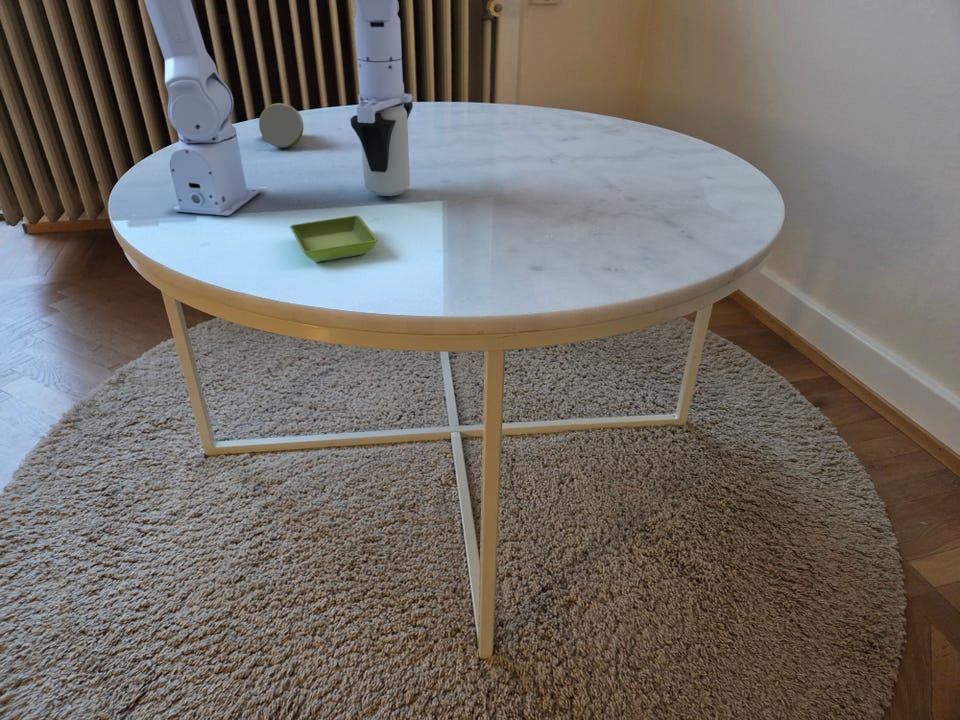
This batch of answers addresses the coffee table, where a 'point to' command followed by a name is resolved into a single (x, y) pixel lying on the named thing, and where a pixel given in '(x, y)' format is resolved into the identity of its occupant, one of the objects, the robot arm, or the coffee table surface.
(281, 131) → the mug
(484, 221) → the coffee table surface
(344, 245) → the green tray
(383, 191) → the beverage can
